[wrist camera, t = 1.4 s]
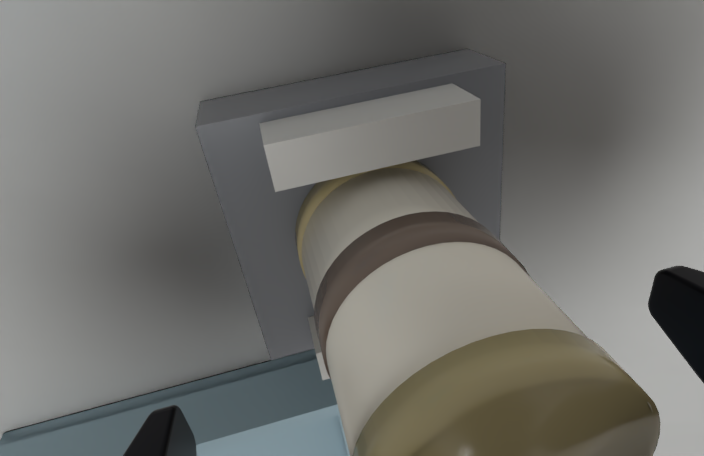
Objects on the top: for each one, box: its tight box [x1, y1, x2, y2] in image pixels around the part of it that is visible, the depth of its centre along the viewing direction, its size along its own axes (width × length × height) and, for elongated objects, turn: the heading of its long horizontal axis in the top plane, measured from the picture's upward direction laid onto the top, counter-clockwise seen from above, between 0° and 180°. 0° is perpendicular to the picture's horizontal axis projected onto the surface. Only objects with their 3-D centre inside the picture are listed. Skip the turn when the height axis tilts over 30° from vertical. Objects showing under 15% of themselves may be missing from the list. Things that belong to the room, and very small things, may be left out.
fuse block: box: [195, 49, 506, 380], centre depth 12 cm, size 7×7×3 cm
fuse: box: [295, 160, 660, 456], centre depth 9 cm, size 4×4×7 cm
